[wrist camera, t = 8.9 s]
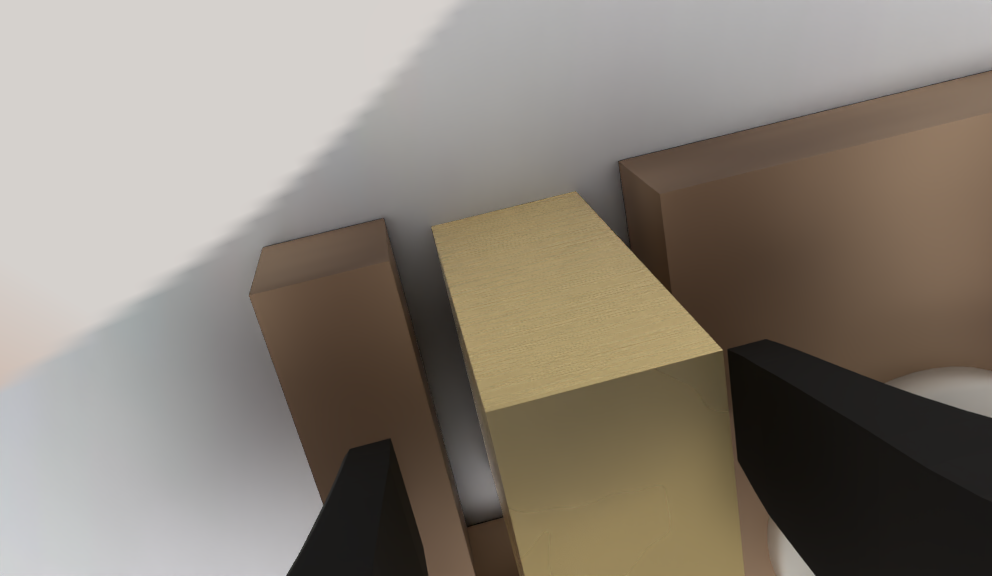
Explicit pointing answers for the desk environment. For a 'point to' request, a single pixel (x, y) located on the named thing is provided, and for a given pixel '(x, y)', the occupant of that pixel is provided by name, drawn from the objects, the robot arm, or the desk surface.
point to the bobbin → (944, 385)
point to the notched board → (682, 286)
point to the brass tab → (591, 397)
